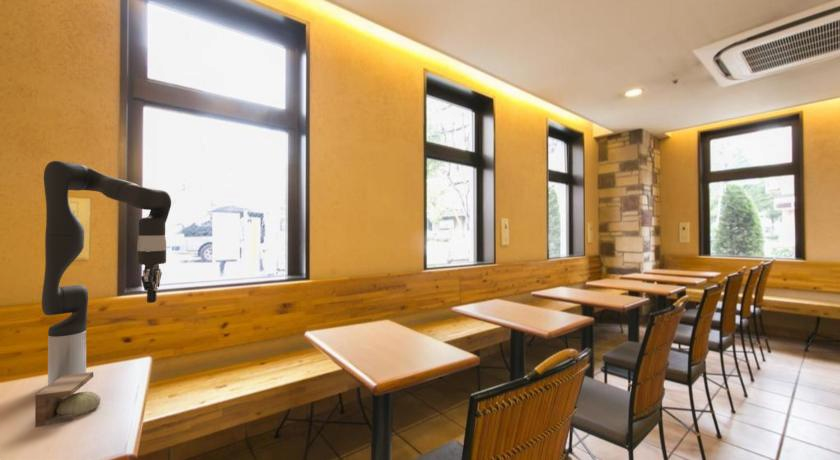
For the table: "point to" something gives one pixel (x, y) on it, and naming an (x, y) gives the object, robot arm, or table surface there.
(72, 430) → the table surface
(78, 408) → the sea urchin shell
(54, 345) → the robot arm
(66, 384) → the shelf
